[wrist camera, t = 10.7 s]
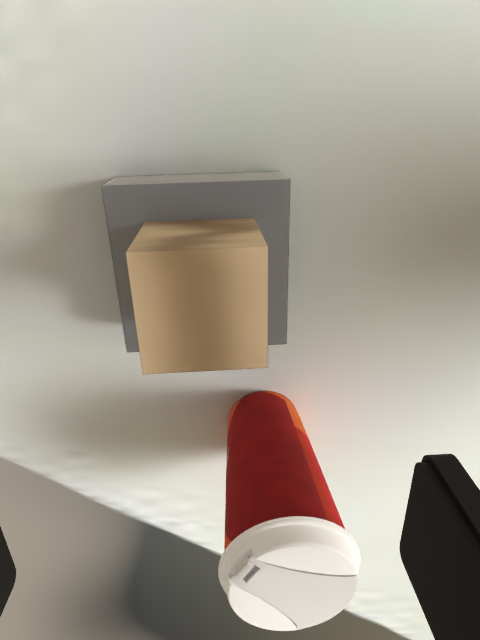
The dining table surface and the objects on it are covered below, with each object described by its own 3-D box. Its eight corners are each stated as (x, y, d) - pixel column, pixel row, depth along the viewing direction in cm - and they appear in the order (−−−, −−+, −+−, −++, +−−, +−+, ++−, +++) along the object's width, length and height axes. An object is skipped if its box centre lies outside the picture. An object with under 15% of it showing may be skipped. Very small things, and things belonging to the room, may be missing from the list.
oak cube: (254, 218, 24) (267, 246, 18) (255, 316, 26) (267, 367, 21) (144, 222, 24) (125, 252, 18) (156, 321, 26) (142, 374, 21)
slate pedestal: (279, 171, 27) (290, 179, 23) (277, 317, 31) (286, 343, 27) (116, 176, 26) (101, 185, 23) (136, 324, 30) (127, 352, 27)
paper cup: (197, 433, 35) (190, 612, 22) (249, 362, 32) (276, 518, 20) (275, 469, 37) (310, 651, 24) (330, 406, 35) (401, 572, 22)
